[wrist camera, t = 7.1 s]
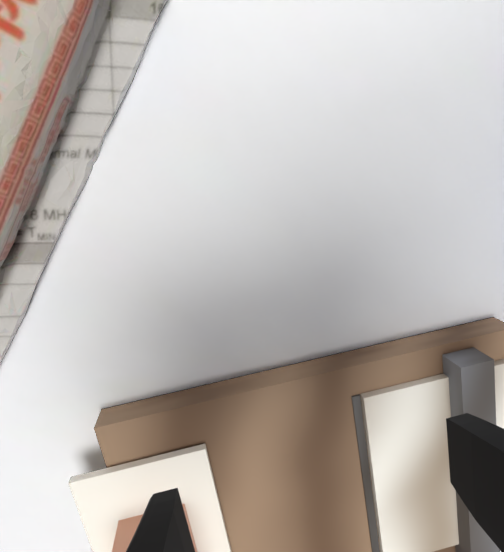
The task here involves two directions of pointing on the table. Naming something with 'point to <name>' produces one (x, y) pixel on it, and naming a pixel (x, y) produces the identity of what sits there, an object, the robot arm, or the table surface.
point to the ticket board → (333, 443)
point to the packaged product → (55, 122)
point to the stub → (137, 492)
